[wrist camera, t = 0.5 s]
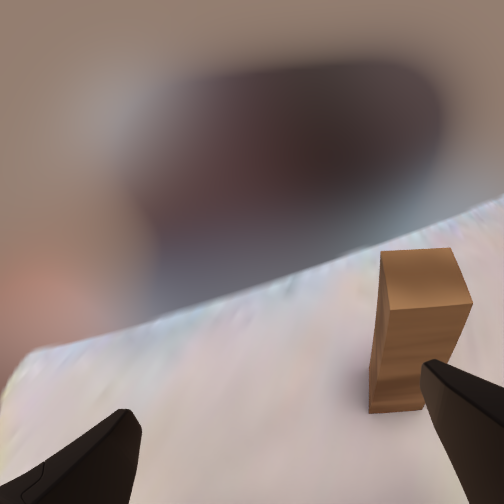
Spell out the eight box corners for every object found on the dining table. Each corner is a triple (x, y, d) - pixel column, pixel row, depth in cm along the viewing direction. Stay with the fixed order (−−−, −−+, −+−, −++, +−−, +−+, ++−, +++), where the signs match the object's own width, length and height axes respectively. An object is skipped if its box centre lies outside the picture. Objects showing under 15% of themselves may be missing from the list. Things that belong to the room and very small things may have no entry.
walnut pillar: (421, 409, 19) (473, 303, 12) (368, 413, 21) (390, 309, 13) (417, 364, 23) (450, 247, 15) (369, 367, 24) (380, 251, 17)
